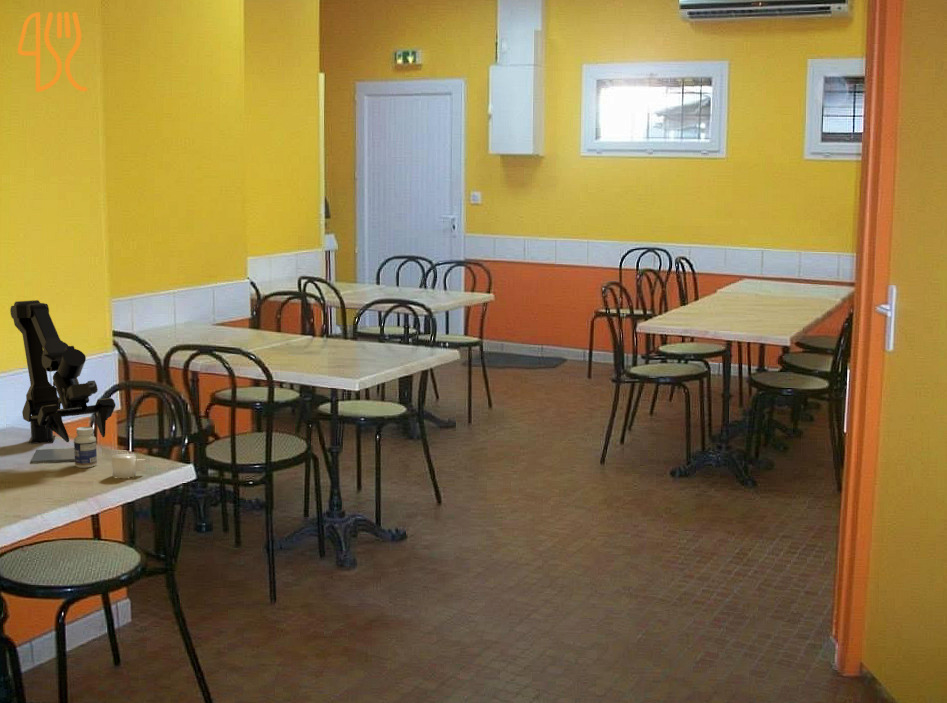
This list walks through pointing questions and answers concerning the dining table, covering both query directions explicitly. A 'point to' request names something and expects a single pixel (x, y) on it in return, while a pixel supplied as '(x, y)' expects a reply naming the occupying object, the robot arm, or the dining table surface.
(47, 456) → the slate coaster
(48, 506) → the dining table surface
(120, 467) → the espresso cup
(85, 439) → the pill bottle
